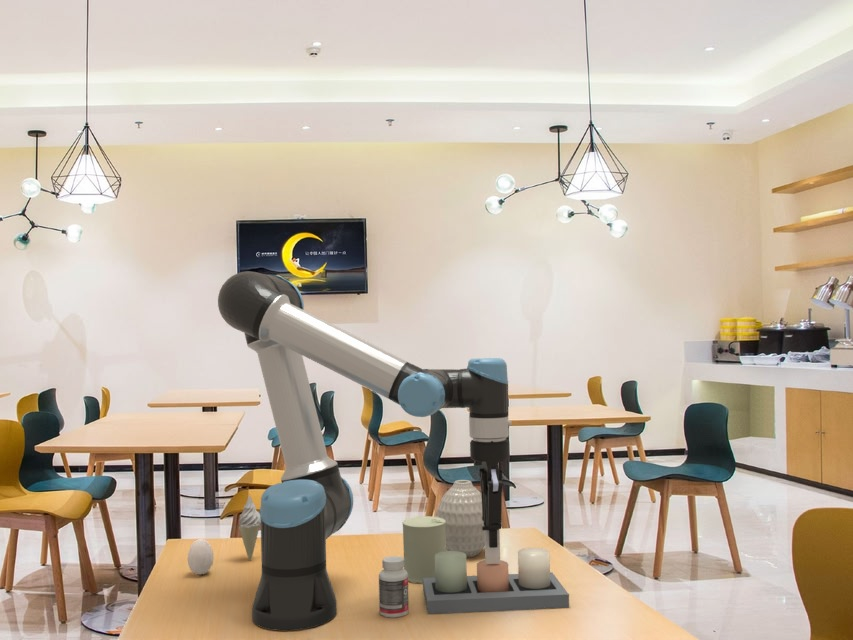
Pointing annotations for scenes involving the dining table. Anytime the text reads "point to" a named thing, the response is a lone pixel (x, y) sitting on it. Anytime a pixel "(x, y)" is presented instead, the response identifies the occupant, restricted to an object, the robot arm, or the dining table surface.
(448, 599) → the board
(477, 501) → the vase
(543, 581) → the cream cylinder
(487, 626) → the dining table surface
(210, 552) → the egg
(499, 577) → the pink cylinder
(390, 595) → the pill bottle
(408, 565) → the can
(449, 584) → the pale green round piece
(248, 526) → the ice cream cone
